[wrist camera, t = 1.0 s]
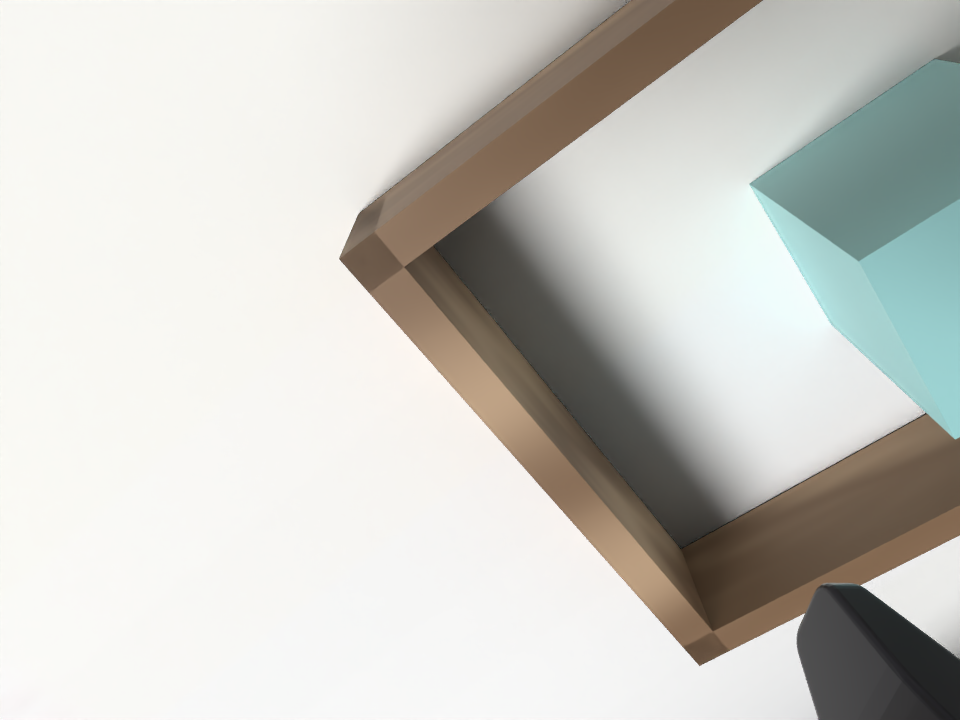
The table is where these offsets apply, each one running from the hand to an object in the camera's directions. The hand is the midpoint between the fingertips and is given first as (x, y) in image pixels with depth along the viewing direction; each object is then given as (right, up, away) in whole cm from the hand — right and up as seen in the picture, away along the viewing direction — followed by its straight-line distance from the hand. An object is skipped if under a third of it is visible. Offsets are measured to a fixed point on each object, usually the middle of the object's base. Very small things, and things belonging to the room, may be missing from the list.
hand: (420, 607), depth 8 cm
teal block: (+11, +7, +12) cm, 17 cm away
